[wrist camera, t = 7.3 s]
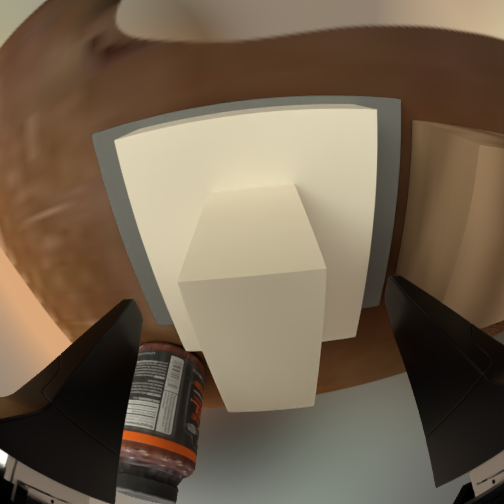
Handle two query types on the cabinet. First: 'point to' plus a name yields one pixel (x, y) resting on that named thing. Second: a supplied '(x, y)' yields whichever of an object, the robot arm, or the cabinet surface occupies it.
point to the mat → (385, 108)
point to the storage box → (456, 219)
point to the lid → (258, 238)
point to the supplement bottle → (161, 423)
